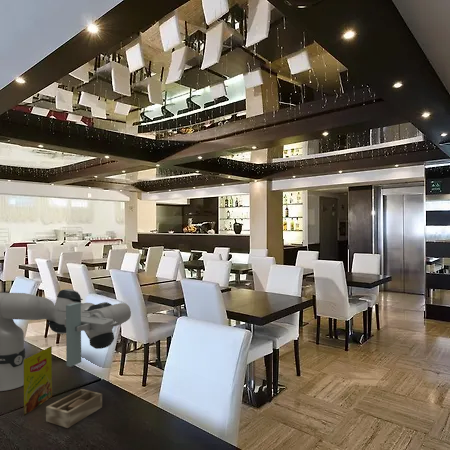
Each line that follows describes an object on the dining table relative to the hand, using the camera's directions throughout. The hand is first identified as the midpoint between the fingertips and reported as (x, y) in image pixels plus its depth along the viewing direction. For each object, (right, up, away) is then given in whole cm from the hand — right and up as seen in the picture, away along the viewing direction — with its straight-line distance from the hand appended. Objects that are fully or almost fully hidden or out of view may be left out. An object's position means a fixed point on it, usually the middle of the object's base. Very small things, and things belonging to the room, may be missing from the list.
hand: (72, 328), depth 138 cm
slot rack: (+2, -30, -3) cm, 30 cm away
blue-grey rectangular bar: (0, -13, 0) cm, 13 cm away
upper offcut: (+3, -28, -4) cm, 28 cm away
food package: (-15, -30, +4) cm, 34 cm away
